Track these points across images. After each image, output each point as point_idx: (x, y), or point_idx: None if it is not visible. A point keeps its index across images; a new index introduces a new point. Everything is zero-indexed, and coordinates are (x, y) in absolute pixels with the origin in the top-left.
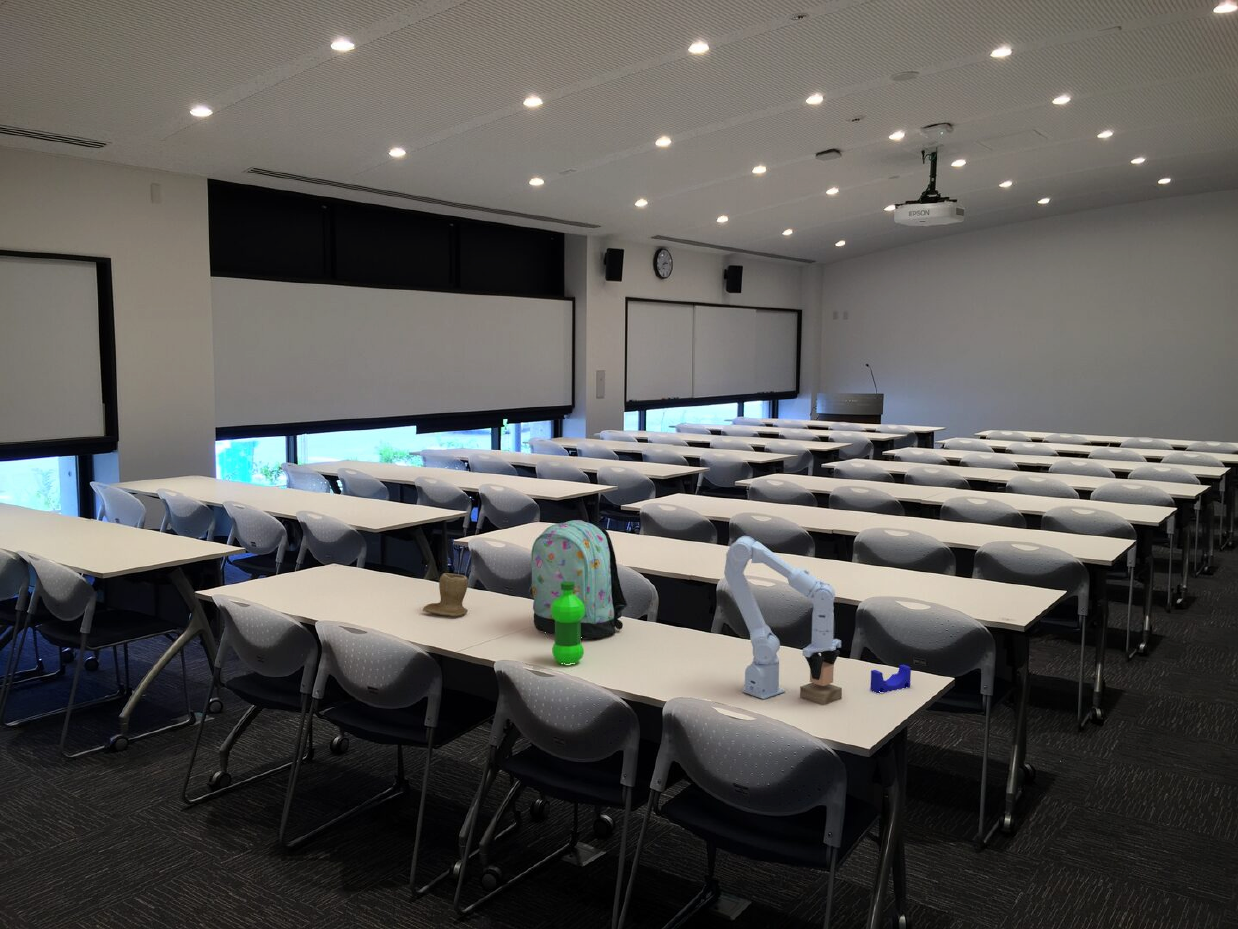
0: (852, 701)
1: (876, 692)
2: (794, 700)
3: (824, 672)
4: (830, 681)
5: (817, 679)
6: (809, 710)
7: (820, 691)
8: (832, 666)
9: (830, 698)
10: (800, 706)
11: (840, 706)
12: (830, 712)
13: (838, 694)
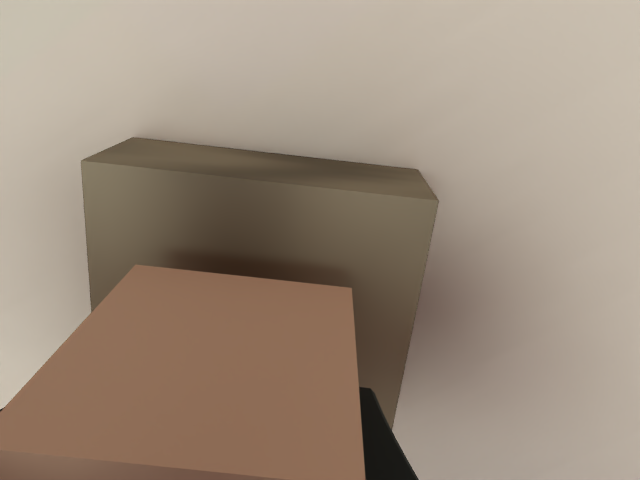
0: (108, 7)
1: None
2: (467, 395)
3: (325, 408)
4: (188, 283)
5: (377, 400)
6: (623, 195)
7: (373, 276)
8: (34, 431)
9: (308, 167)
10: (571, 300)
11: (330, 25)
12: (560, 9)
13: (168, 153)
